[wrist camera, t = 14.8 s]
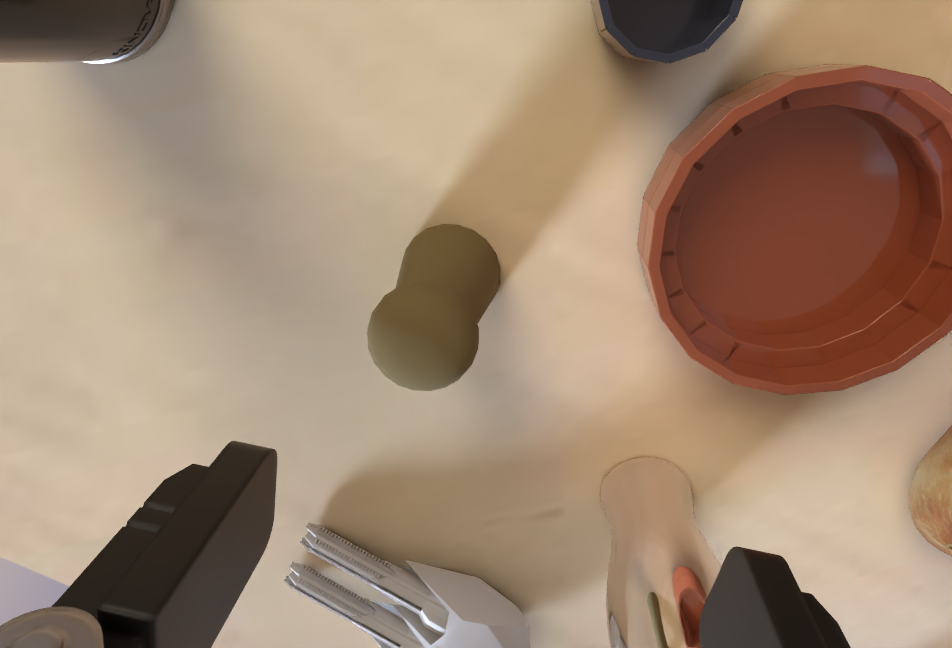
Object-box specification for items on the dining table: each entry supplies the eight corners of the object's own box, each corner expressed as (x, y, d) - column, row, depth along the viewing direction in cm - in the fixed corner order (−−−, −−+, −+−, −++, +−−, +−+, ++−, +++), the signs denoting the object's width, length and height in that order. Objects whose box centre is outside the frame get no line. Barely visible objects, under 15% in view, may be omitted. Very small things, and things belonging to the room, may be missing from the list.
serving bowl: (576, 234, 36) (580, 258, 32) (819, -11, 30) (864, -22, 26) (762, 405, 39) (789, 447, 35) (1016, 213, 33) (1085, 236, 29)
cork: (493, 218, 36) (473, 281, 26) (506, 314, 38) (493, 406, 28) (392, 230, 37) (335, 296, 27) (411, 323, 39) (365, 416, 29)
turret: (332, 484, 47) (301, 522, 43) (565, 612, 46) (558, 666, 42) (295, 571, 52) (263, 614, 47) (509, 691, 50) (496, 748, 46)
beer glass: (596, 447, 41) (621, 642, 28) (704, 453, 41) (784, 654, 27) (590, 530, 44) (610, 744, 30) (691, 536, 43) (758, 757, 30)
